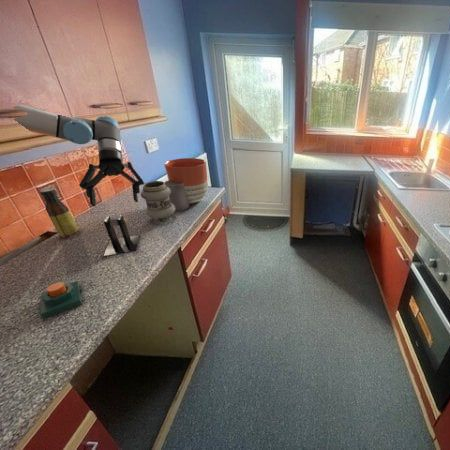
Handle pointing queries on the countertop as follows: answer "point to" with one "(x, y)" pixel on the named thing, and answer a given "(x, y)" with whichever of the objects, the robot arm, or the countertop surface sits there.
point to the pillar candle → (178, 195)
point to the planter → (189, 176)
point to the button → (56, 289)
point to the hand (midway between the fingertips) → (114, 202)
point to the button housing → (61, 300)
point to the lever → (115, 222)
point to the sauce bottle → (59, 214)
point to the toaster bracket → (120, 244)
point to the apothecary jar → (158, 201)
